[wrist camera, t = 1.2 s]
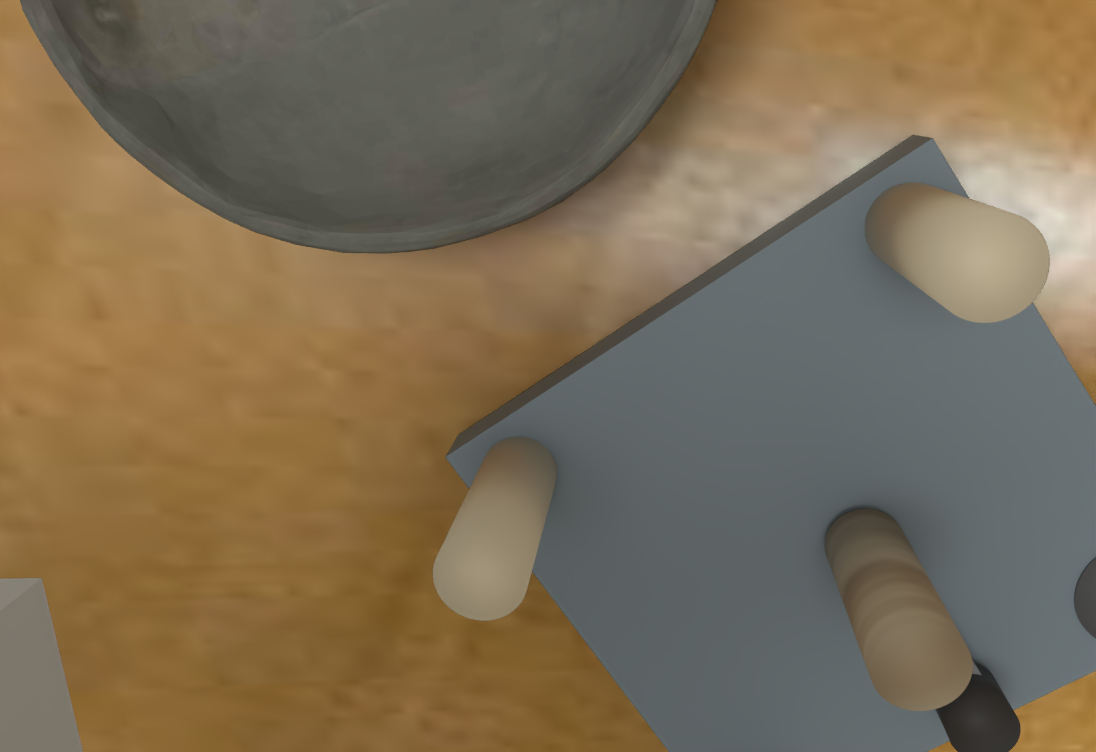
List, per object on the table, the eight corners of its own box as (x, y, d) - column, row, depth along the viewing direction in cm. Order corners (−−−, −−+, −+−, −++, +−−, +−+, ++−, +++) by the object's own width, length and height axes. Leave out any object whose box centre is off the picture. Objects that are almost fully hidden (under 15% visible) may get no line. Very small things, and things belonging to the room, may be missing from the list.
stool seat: (735, 802, 42) (760, 1033, 31) (458, 434, 38) (385, 558, 28) (1191, 578, 37) (1397, 766, 26) (918, 131, 33) (1033, 148, 23)
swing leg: (1014, 696, 36) (1108, 856, 28) (945, 730, 36) (1019, 894, 29) (879, 494, 34) (940, 606, 27) (809, 533, 35) (850, 653, 27)
